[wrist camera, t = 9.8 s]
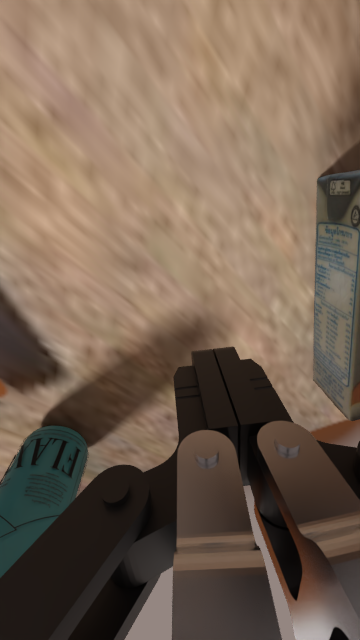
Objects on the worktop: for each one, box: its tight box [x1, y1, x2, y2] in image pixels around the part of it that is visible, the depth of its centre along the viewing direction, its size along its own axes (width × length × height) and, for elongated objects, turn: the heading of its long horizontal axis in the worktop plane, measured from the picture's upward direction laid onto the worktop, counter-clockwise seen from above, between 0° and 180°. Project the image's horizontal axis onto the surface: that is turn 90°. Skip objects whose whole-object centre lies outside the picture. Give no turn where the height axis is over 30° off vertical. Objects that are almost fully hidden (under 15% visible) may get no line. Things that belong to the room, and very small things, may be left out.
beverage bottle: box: [0, 426, 89, 578], centre depth 21 cm, size 6×7×20 cm
